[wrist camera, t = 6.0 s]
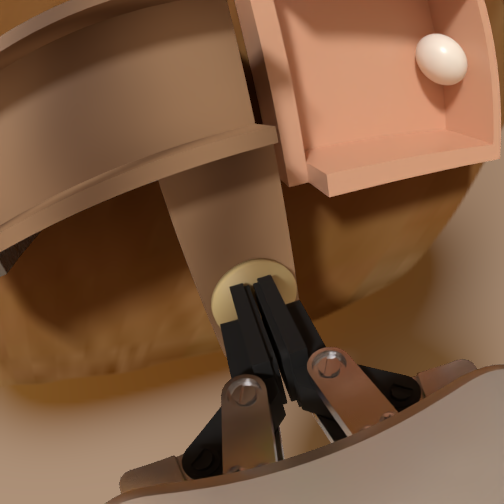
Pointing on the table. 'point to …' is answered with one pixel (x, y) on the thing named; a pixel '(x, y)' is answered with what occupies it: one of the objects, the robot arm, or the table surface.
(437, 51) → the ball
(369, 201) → the table surface
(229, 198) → the lever
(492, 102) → the dish
